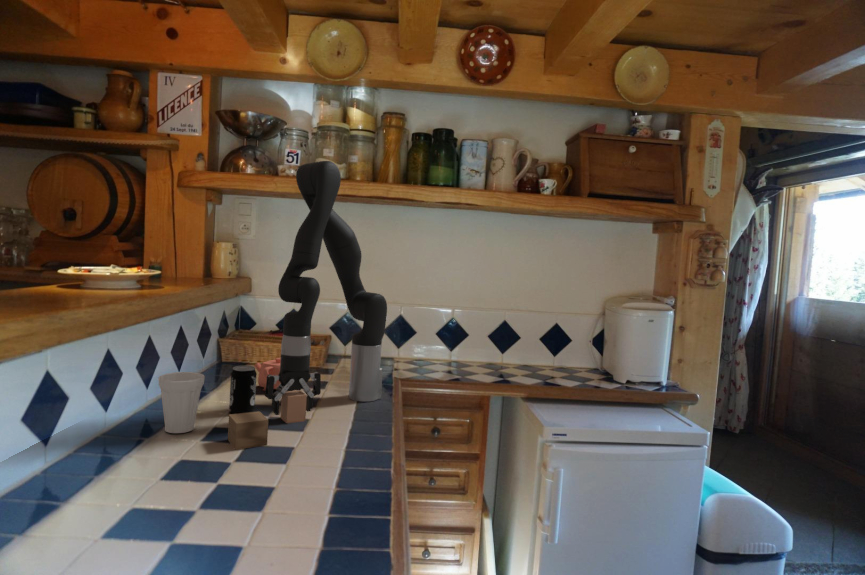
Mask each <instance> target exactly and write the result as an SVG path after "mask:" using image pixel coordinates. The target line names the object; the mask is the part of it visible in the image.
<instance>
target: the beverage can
mask: <svg viewBox="0 0 865 575" xmlns="http://www.w3.org/2000/svg"><path fill="white" fill-rule="evenodd" d="M229 388H230V389H229V411H230V412H231V413H232V414H239V413H249V412H254V411H255V409H256V396H257V395H256V393H257V392H256V391H257V371H256V368H255V367H254V366H252V365H236V366H233V367H232V371H231V373H230V387H229Z"/></svg>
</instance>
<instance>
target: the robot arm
mask: <svg viewBox="0 0 865 575" xmlns="http://www.w3.org/2000/svg"><path fill="white" fill-rule="evenodd" d="M341 178H342V176H341V172H340V169H339V167H338V166H337V165H336V164H335V162H333V161H331V160H321V161H315V162H308V163H304V164H301V165H300V166H299V167H298V168H297V170H296V172H295V179H296V184H297V187H298V190H299V192H300V194H301V196H302V199H303V200H304V202H305V204H306V205H307V208H308V209H309V212H308V214H307V216H306V217H305V218H304V220H303V222H302V223H301V225H300V227H299V228H298V231H297V232H296V235H295V239H294V243H293V247H292V248H293V249H292V253H291V258H290V260H289V262H288V264H287V267H286V268H285V271H284V272H283V275H282V277H281V279H280V280H279V284H278V288H277V289H278V292H277V293H278V295H279V297H280V299H281V300H282V301H283V302H285V303H291V304H293V303H294V304H301V306H300V308H299V310H297V311H289V312H286V313H285V314H284V317H283V327H282V328H283V330H282V339H281V347H280V349H281V350H280V358H281V361H280V373H279V375H271V374H269V375H268V376H267V382H266V390H265V391H264V396H265V397H266V398H267V399H268V400H271V411H272V413H273V414H274V415H276V416H280V408H281V400H280V399H281V398H282V395H283V394H285V392H289V391H302V390H303V391H304V392H303V393H304V394H306V395H307V399H306V413H307V412H311V410H312V409H313V408H314V407H313V406H314V397H315V396H319V395H321V387H322V386H321V385H322V384H321V379H322V378H321V373H320V372H317V371H316V370H315V371H313V372H310V367H311V366H310V365H311V352H312V348H311V347H312V345H311V344H312V341H311V334H312V333H311V331H312V330H311V329H312V319H313V316H314V313H315V309H316V306H317V303H318V301H319V298H320V294H321V286H320V284H319V281H318V280H317V279H316V278H315V277H310V276H309V277H308V276H302V274H303V273H304V272H306V271H312V270H314V269H316V268H317V267H318V265H319V261H320V260H319V258H320V256H321V255H320V254H321V249H322V243H323V242H324V245H325V246H324V247H325V248H326V251H327V253H328V256H329V258H330V260H331V263H332V265H333V267H334V269H335V272H336V275H337V277H338V280H339V282H340V285H341V289H342V292H343V295H344V299H345V302H346V306H347V310H348V312H349V314H350V315H351V317H352V318H353V319H355V320H357V321H359V322H360V321H361V322H363V323H362V329H361V330H360V331H357V332H354V333H353V334H352V338H351V353H350V370H349V383H348V384H349V387H348V399H350V400H352V401H356V402H364V403H365V402H373V401H377V400H380V399H381V398H382V384H383V383H382V382H383V368H382V367H381V362H382V360H381V359H382V342H383V339H384V335H385V333H386V326H387V325H386V324H387V313H388V304H387V300H386V298H385V297H384V295H383V294H381V293H377V292H369V291H367V290H366V289H365V287H364V285H363V282H362V279H361V275H360V269H361V264H362V250H361V246H360V243H359V242H358V238H357V236H356V233H355V232H354V230H353V229H352V228H351V226H350V225H349V224H348V223H347V222H346V221H345V220H344V219H343V218H342V217H341V216H340V215H339V214H338V213H337V212H336V211H335V209H333V208H334V205H335V202H336V199H337V197H338V194H339V191H340V187H341V182H342V181H341V180H342V179H341ZM310 379H311V381H312V390H311V388H310V386H309V385H308V384H307V383H308V382H309V380H310ZM277 380H279V381H280V385H279V386H278V387H277V389H275V391H274V389H273V388H274V384H275V383H276V381H277ZM381 400H382V399H381Z"/></svg>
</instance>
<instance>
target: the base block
mask: <svg viewBox="0 0 865 575" xmlns="http://www.w3.org/2000/svg"><path fill="white" fill-rule="evenodd" d="M227 422H228V424H227V425H228V427H227V441H228V442H229V443H230V445H231V446H232V447H233V449H234V450H243V449H249V448H257V447H264V446H268V434H269V432H268V431H269V419H268V418H267V417H266V416H265V415H264V414H263V413H262V412H261V411H252V412H249V413H239V414H235V413H232V414H228V421H227Z"/></svg>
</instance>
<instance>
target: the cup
mask: <svg viewBox="0 0 865 575" xmlns="http://www.w3.org/2000/svg"><path fill="white" fill-rule="evenodd" d="M205 379H206V378H205V375H204V373H200V372H192V371H178V372H176V371H175V372H169V373H164V374H161V375H160V376H159V377H158V386H159V389H160V393H161V394H160V396H161V404H162V411H163V412H162V413H163V419H164V420H163V422H164V430H165V432H167V433H170V434H183V433H184V434H185V433H188V432H191V431H193V430H194V429H195V424H196V420H197V419H196V418H197V411H198V406H199V402H200V396H201V391H202V388H203V387H204V384H205Z"/></svg>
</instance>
